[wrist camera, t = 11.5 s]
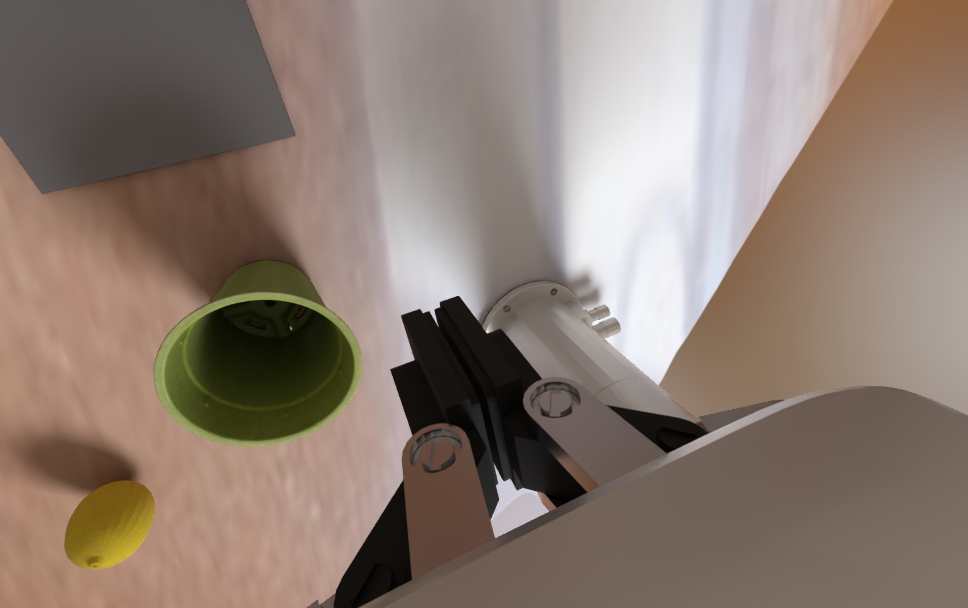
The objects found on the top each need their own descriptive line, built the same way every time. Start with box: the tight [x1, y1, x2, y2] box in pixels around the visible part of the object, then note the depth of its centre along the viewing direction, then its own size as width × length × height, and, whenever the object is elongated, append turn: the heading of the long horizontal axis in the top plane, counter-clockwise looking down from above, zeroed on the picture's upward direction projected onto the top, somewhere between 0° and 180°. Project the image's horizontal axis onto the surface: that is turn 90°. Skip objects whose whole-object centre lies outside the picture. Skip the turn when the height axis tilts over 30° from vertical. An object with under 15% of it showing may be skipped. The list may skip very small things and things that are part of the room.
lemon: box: [64, 480, 155, 570], centre depth 36 cm, size 6×6×8 cm
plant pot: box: [154, 260, 362, 447], centre depth 33 cm, size 12×12×11 cm
